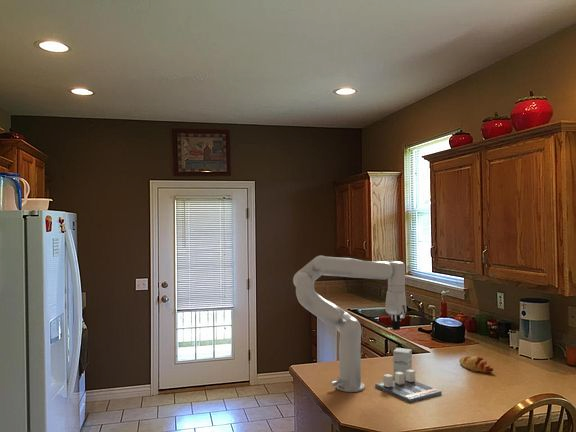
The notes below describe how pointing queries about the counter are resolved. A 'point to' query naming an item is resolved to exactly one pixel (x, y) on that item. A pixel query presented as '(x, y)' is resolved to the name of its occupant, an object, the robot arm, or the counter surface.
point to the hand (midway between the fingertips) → (396, 329)
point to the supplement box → (402, 360)
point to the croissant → (476, 364)
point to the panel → (410, 390)
